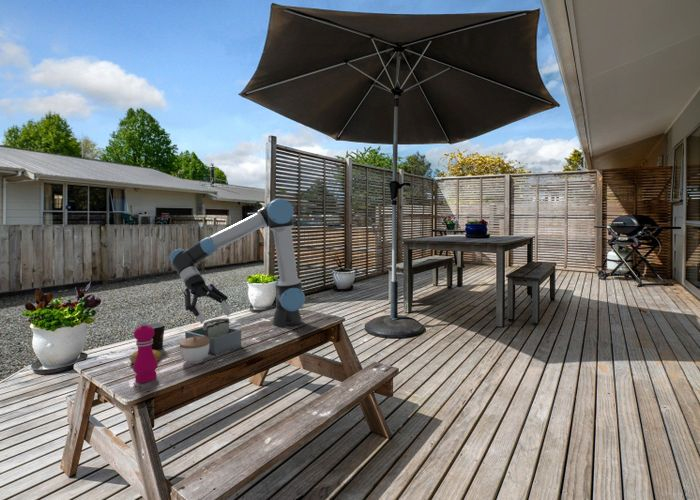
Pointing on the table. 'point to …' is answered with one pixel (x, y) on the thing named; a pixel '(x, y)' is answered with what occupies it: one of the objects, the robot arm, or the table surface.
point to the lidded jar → (195, 349)
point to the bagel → (155, 352)
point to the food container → (216, 327)
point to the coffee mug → (157, 335)
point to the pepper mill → (144, 354)
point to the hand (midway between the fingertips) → (217, 317)
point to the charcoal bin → (218, 340)
